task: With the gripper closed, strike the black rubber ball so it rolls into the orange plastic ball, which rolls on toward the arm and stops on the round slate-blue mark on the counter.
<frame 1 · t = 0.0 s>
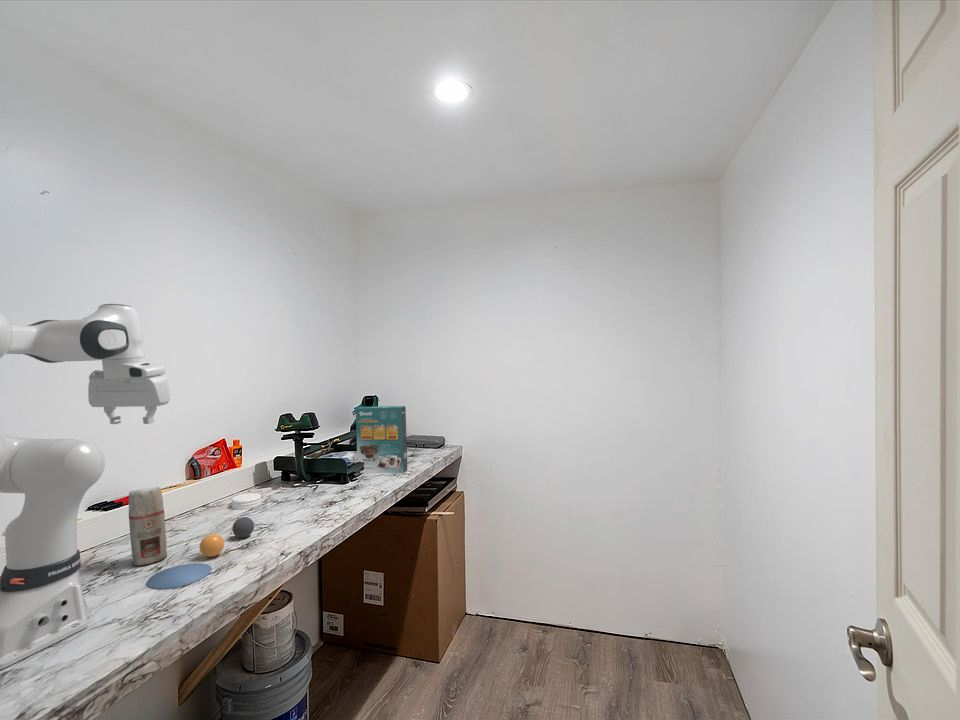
hand: (132, 423, 125), 39 cm above the countertop, tool pointing down, fingers open, 8 cm apart
cake mix box: (382, 472, 229), on the countertop
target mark: (179, 575, 125), on the countertop
coaster: (246, 506, 183), on the countertop
orange ball: (211, 545, 137), on the countertop
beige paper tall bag: (149, 561, 135), on the countertop
black ball: (243, 527, 151), on the countertop
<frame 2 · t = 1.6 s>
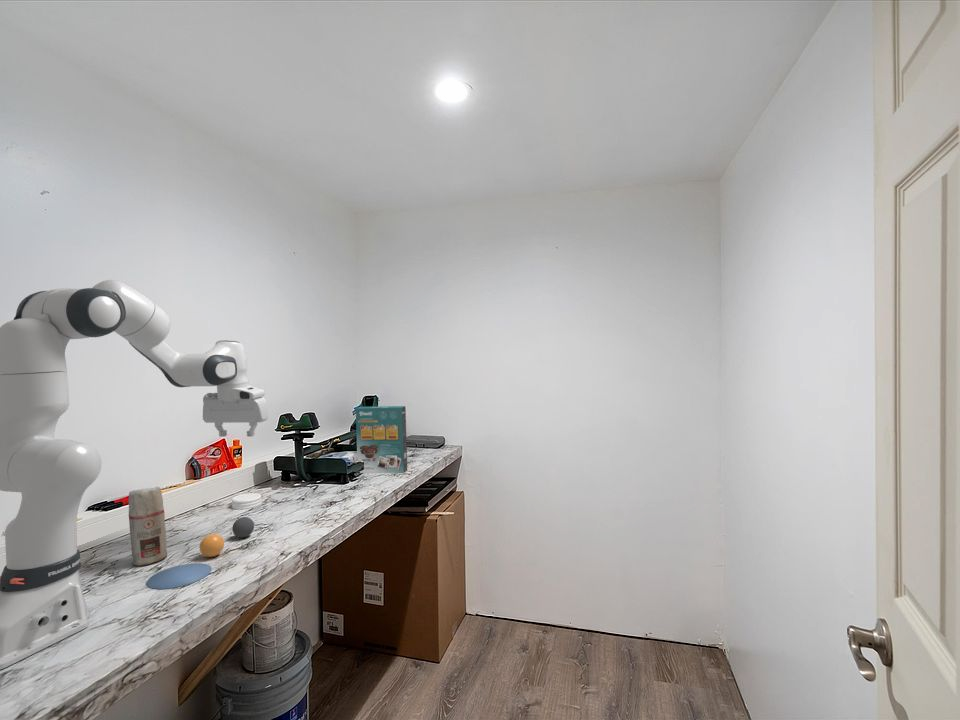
hand: (236, 436, 155), 30 cm above the countertop, tool pointing down, fingers open, 8 cm apart
nothing on the countertop moved.
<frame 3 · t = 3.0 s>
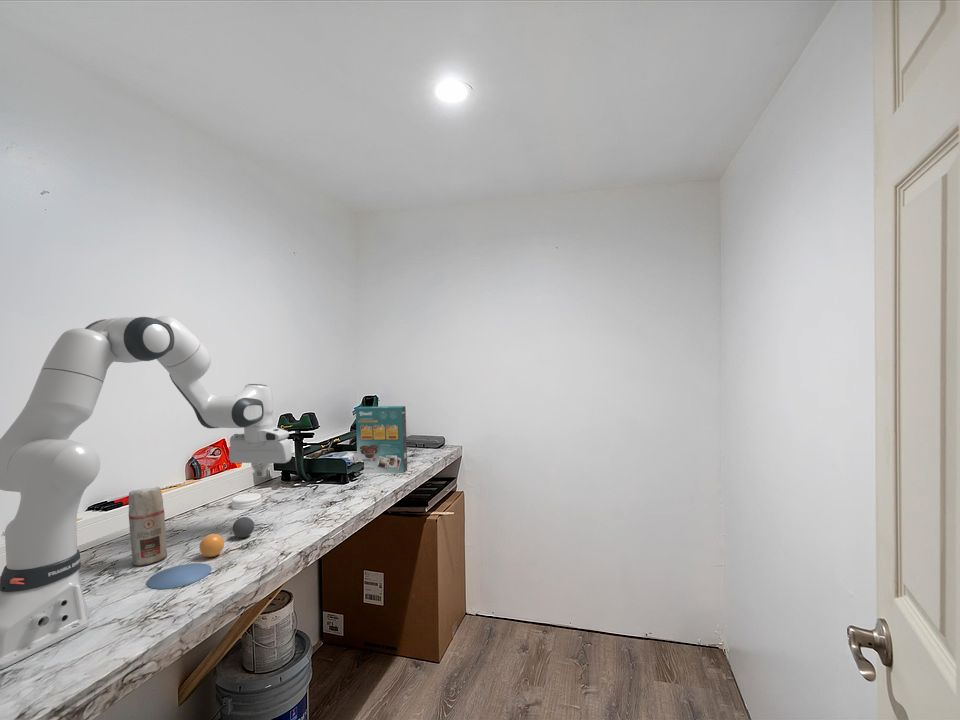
hand: (260, 476, 160), 16 cm above the countertop, tool pointing down, fingers closed
nothing on the countertop moved.
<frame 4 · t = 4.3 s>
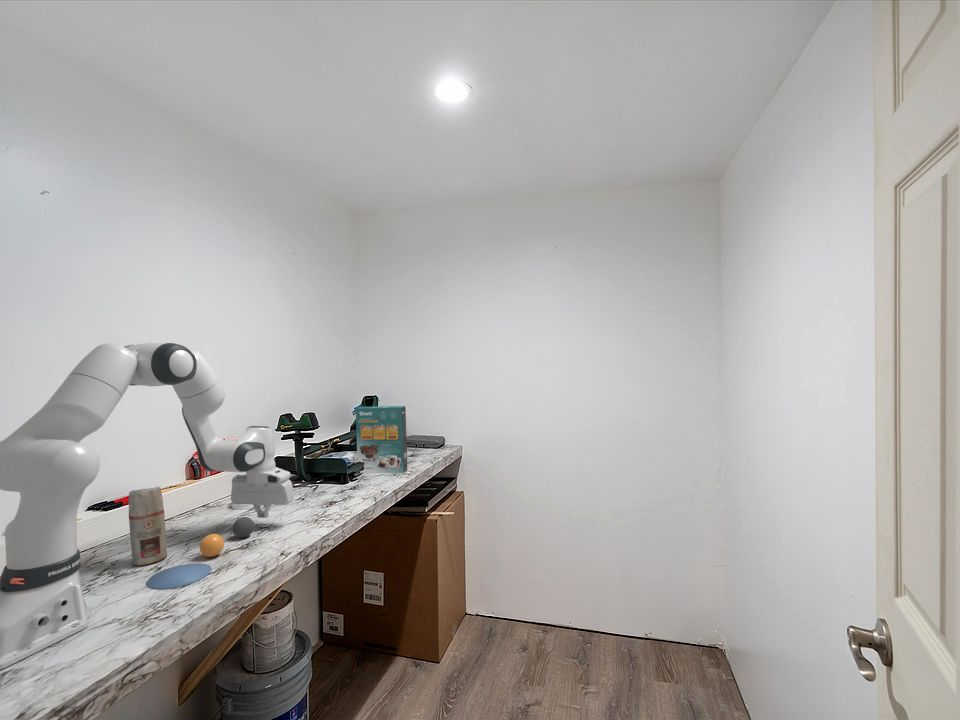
hand: (262, 517, 161), 3 cm above the countertop, tool pointing down, fingers closed
nothing on the countertop moved.
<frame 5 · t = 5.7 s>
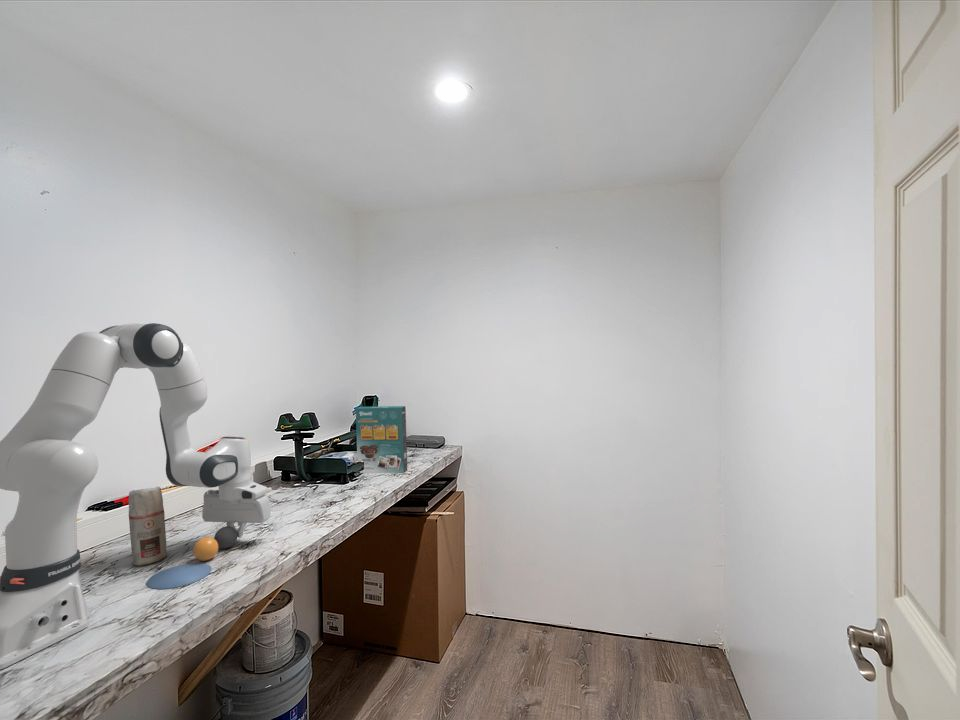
hand: (236, 536, 147), 1 cm above the countertop, tool pointing down, fingers closed
orange ball: (205, 548, 134), on the countertop
black ball: (225, 537, 143), on the countertop
everything else where it was.
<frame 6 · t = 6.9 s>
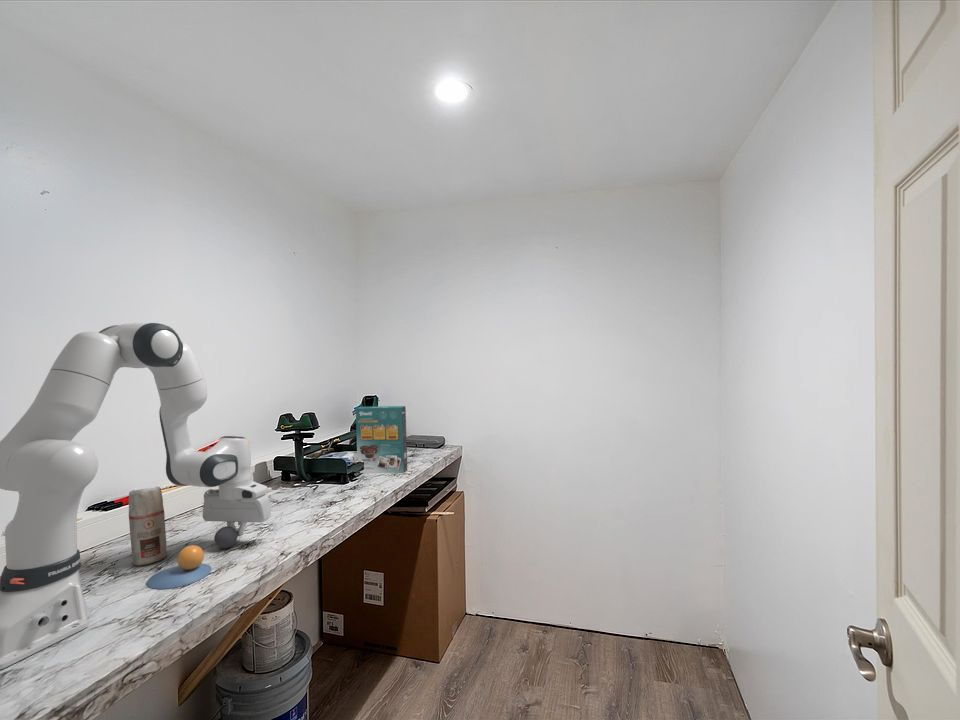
hand: (237, 535, 148), 2 cm above the countertop, tool pointing down, fingers closed
orange ball: (190, 557, 129), on the countertop
everything else where it was.
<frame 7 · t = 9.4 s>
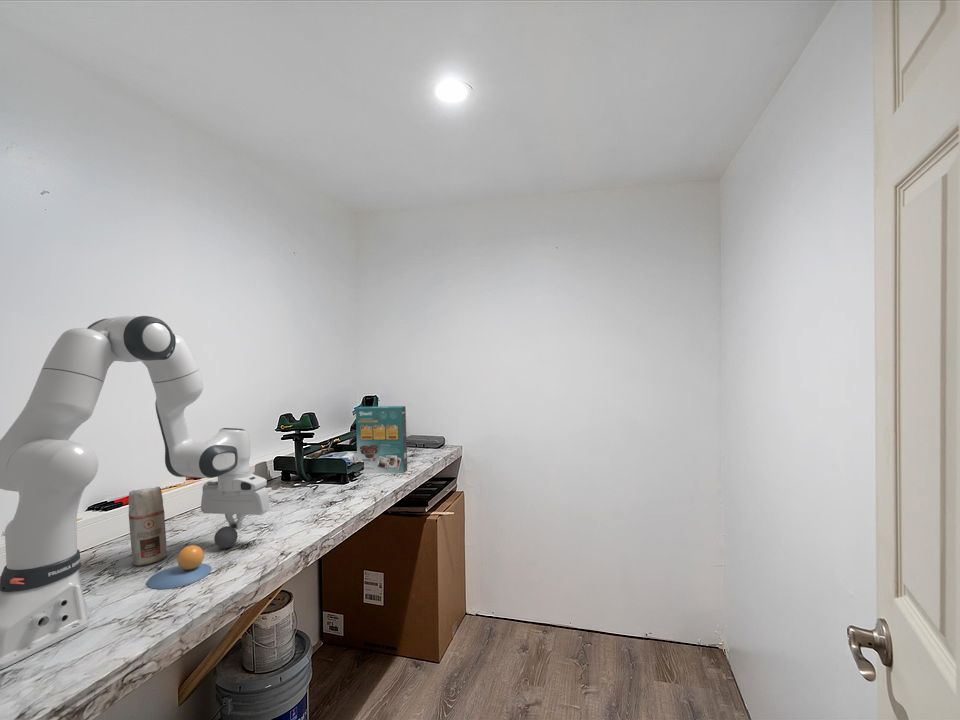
hand: (235, 528, 147), 4 cm above the countertop, tool pointing down, fingers closed
nothing on the countertop moved.
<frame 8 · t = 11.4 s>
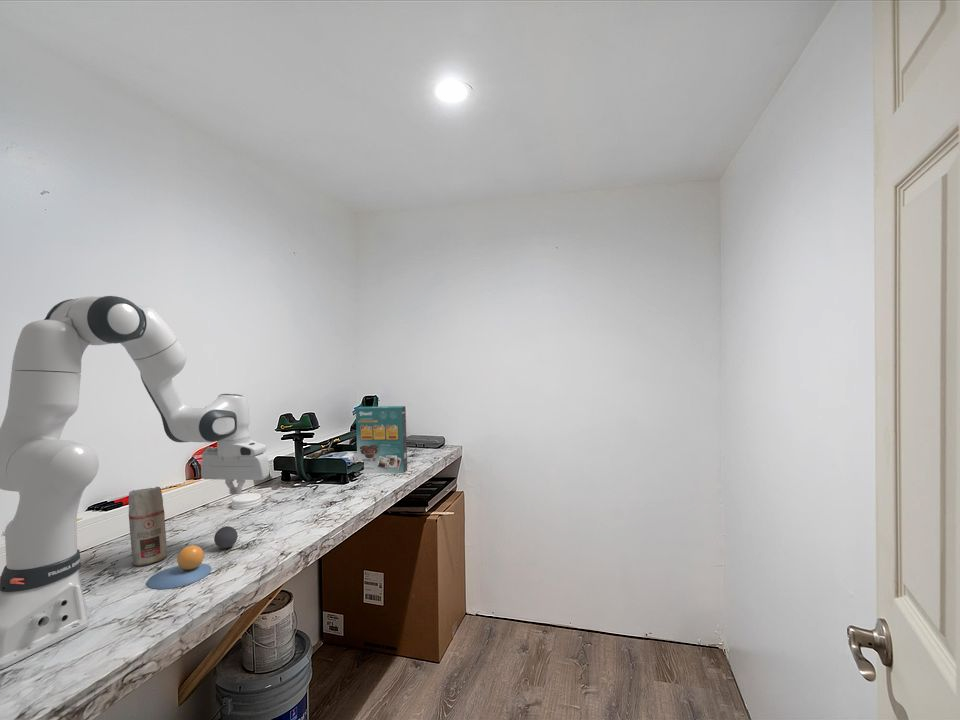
hand: (235, 493, 147), 14 cm above the countertop, tool pointing down, fingers closed
nothing on the countertop moved.
at the end: orange ball 3.9 cm from the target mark (horizontally); orange ball never touched the robot; black ball first touched orange ball at 5.5 s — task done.
